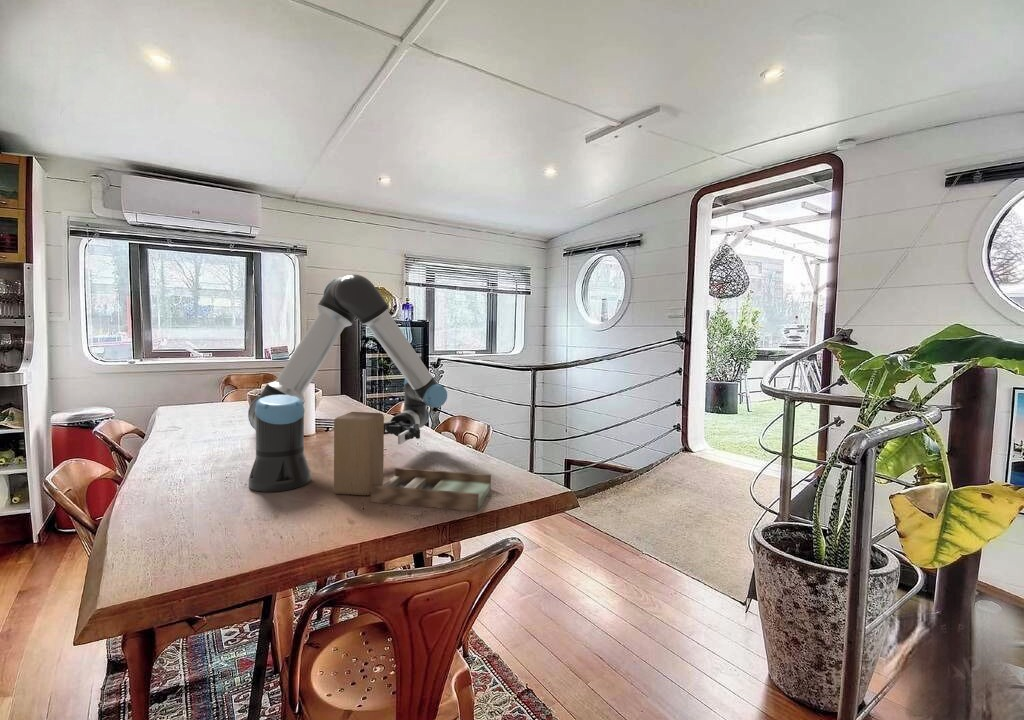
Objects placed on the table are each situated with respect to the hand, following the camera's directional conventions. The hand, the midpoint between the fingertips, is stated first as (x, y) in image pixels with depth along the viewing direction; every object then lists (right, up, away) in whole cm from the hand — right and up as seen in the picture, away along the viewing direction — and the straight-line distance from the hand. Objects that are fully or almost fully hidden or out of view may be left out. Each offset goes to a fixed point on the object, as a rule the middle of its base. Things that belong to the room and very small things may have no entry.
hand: (376, 438), depth 131 cm
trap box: (+18, -13, -12) cm, 25 cm away
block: (-2, -12, -9) cm, 15 cm away
